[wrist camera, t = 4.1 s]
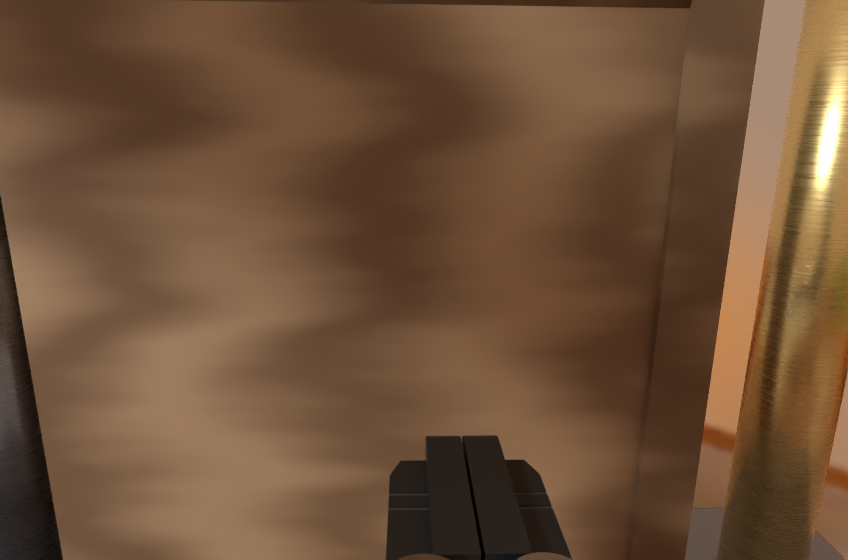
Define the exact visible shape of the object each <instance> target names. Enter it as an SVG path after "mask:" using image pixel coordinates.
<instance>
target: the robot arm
mask: <svg viewBox="0 0 848 560" xmlns="http://www.w3.org/2000/svg"><path fill="white" fill-rule="evenodd" d="M386 560H572V557H571V554H570V552H569V549H568V547H567V544H566V541H565V539H564V536H563V534H562V531H561V528H560V526H559V523H558V520H557V518H556V515H555V513H554V510H553V509H552V505H551V502H550V500H549V497H548V494H546V489H545V487H544V484H543V481H542V479H541V476H540V474H539V473H538V472H537V471H536V470H535V469H534V468H533V467H532V466H530V465H529V464H528V463H527V462H526V461H525V460H505V458H504V455H503V451H502V448H501V445H500V441H499V438H498V436H497V435H474V436H462V442H461V437H460V436H426V439H425V460H408V461H400V462H399V464H398V465H397V466H396V468H395V469H394V470H393V472H392V473H391V474H390V481H389V502H388V524H387V545H386Z"/></svg>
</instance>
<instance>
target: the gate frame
mask: <svg viewBox="0 0 848 560" xmlns="http://www.w3.org/2000/svg"><path fill="white" fill-rule="evenodd" d="M847 372H848V0H805V4H804V11H803V17H802V24H801V30H800V36H799V42H798V49H797V55H796V61H795V68H794V74H793V80H792V87H791V93H790V99H789V106H788V112H787V118H786V124H785V131H784V137H783V143H782V149H781V156H780V162H779V168H778V175H777V181H776V188H775V194H774V200H773V206H772V212H771V219H770V225H769V232H768V238H767V244H766V251H765V258H764V263H763V269H762V276H761V282H760V288H759V295H758V301H757V307H756V313H755V320H754V326H753V333H752V339H751V345H750V352H749V358H748V364H747V371H746V376H745V383H744V389H743V395H742V402H741V408H740V414H739V421H738V427H737V433H736V440H735V446H734V452H733V458H732V465H731V471H730V477H729V484H728V490H727V496H726V503H725V508H692V513H691V520H690V527H689V534H688V541H687V548H686V555H685V560H845V559H844V558H843V557H842V556H841V555H840V554H839V553H838V552H837V551H836V550H835V549H834V548H833V547H832V546H831V545H830V544H829V543H828V542H827V541H826V540H825V539H824V538H823V537H822V536H821V535H820V534H819V533H818V532H817V531H816V530H815V528H816V523H817V519H818V514H819V509H820V504H821V499H822V494H823V489H824V484H825V480H826V475H827V470H828V465H829V460H830V455H831V450H832V446H833V441H834V436H835V431H836V425H837V421H838V416H839V411H840V406H841V402H842V397H843V391H844V387H845V382H846V377H847ZM0 560H63V556H62V550H61V544H60V539H59V533H58V527H57V521H56V515H55V509H54V504H53V498H52V492H51V486H50V480H49V475H48V469H47V463H46V457H45V451H44V445H43V440H42V434H41V428H40V422H39V416H38V411H37V405H36V399H35V393H34V387H33V381H32V376H31V370H30V364H29V358H28V352H27V346H26V341H25V335H24V329H23V323H22V317H21V312H20V306H19V300H18V294H17V288H16V282H15V277H14V271H13V265H12V259H11V253H10V247H9V242H8V236H7V230H6V224H5V218H4V213H3V207H2V201H1V195H0Z"/></svg>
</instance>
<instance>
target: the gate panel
mask: <svg viewBox="0 0 848 560" xmlns="http://www.w3.org/2000/svg"><path fill="white" fill-rule="evenodd" d="M763 8H764V0H0V195H1V201H2V207H3V213H4V218H5V224H6V230H7V236H8V242H9V247H10V253H11V259H12V265H13V271H14V277H15V282H16V288H17V294H18V300H19V306H20V312H21V317H22V323H23V329H24V335H25V341H26V346H27V352H28V358H29V364H30V370H31V376H32V381H33V387H34V393H35V399H36V405H37V411H38V416H39V422H40V428H41V434H42V440H43V445H44V451H45V457H46V463H47V469H48V475H49V480H50V486H51V492H52V498H53V504H54V509H55V515H56V521H57V527H58V533H59V539H60V544H61V550H62V556H63V560H386V545H387V524H388V502H389V481H390V474H391V473H392V472H393V470H394V469H395V468H396V466H397V465H398V464H399V462H400V461H408V460H425V439H426V436H460V437H461V442H462V436H474V435H497V436H498V438H499V441H500V445H501V448H502V451H503V455H504V458H505V460H525V461H526V462H527V463H528V464H529V465H530V466H532V467H533V468H534V469H535V470H536V471H537V472H538V473H539V474H540V476H541V479H542V481H543V484H544V487H545V489H546V494H548V497H549V500H550V502H551V505H552V509H553V510H554V513H555V515H556V518H557V520H558V523H559V526H560V528H561V531H562V534H563V536H564V539H565V541H566V544H567V547H568V549H569V552H570V554H571V557H572V560H685V555H686V548H687V541H688V534H689V527H690V520H691V513H692V506H693V499H694V492H695V485H696V478H697V471H698V464H699V457H700V450H701V443H702V436H703V428H704V421H705V414H706V407H707V400H708V393H709V386H710V379H711V372H712V365H713V357H714V350H715V344H716V337H717V330H718V323H719V316H720V309H721V302H722V295H723V288H724V281H725V274H726V266H727V259H728V253H729V246H730V239H731V232H732V225H733V218H734V210H735V204H736V197H737V190H738V182H739V176H740V169H741V162H742V155H743V148H744V141H745V133H746V127H747V119H748V113H749V106H750V99H751V92H752V85H753V77H754V71H755V64H756V57H757V49H758V43H759V36H760V29H761V22H762V15H763Z"/></svg>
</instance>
